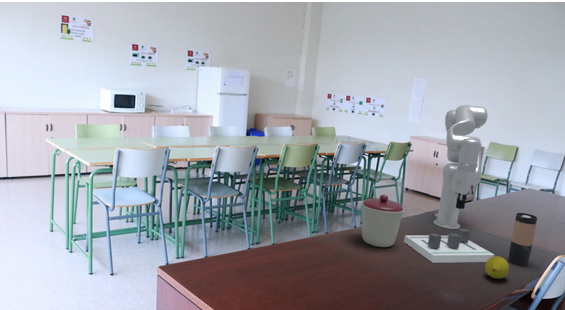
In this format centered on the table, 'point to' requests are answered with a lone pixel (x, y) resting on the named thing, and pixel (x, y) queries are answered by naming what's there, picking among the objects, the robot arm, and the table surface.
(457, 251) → the breaker panel
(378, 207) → the canister
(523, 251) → the travel mug
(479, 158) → the robot arm
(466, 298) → the table surface
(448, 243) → the block
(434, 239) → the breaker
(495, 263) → the lemon
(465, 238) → the block
